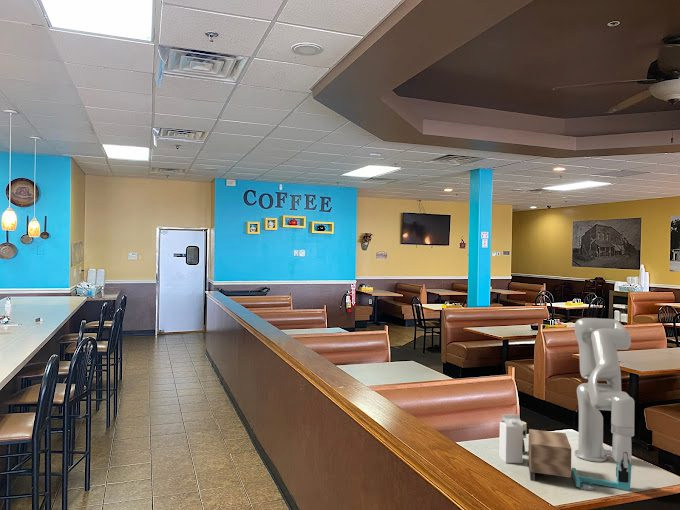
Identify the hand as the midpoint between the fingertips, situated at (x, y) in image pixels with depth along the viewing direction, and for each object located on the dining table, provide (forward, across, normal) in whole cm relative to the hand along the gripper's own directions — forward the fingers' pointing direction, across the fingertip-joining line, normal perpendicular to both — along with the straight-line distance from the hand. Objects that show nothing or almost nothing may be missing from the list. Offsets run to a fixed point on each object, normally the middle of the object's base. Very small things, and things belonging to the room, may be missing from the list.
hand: (622, 479), depth 191 cm
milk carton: (+3, -15, -39) cm, 42 cm away
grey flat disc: (+4, +4, -13) cm, 14 cm away
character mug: (+3, -27, -36) cm, 45 cm away
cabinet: (+3, -4, -25) cm, 26 cm away
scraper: (+3, 0, -7) cm, 8 cm away
